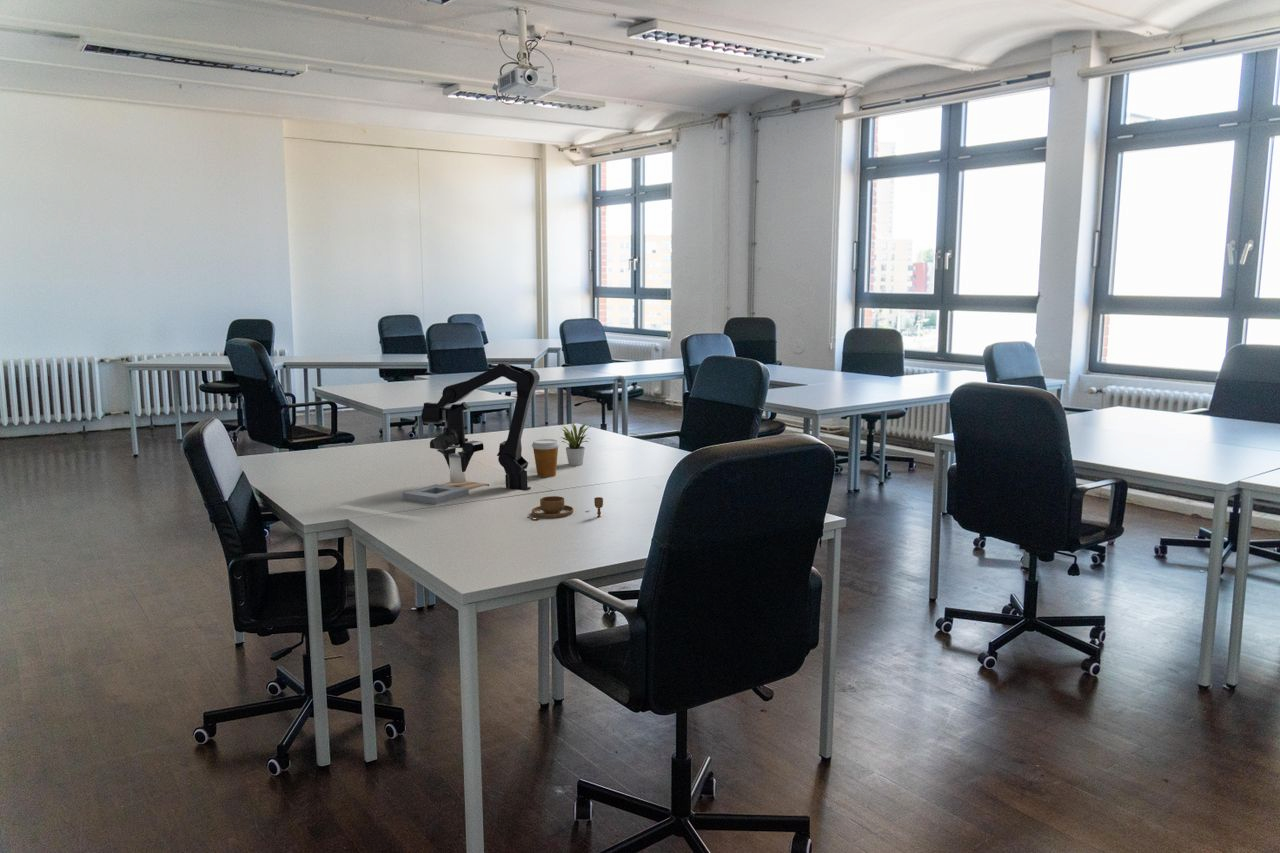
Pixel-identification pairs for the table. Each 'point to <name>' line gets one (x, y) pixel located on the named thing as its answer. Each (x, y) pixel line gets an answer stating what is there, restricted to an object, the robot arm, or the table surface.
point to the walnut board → (466, 485)
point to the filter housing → (435, 494)
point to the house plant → (575, 444)
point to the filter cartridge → (456, 469)
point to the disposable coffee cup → (546, 456)
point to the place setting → (559, 507)
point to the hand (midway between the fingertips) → (457, 471)
